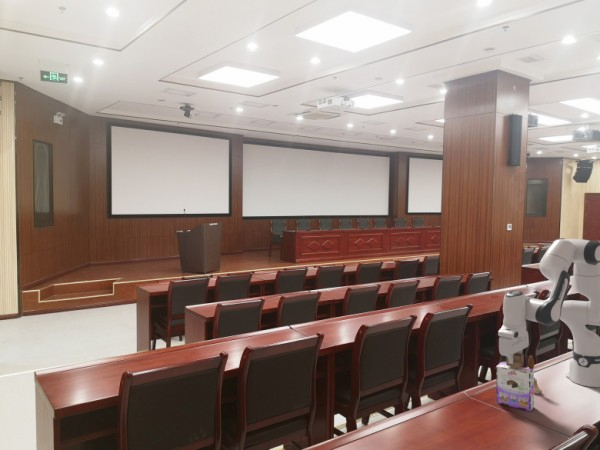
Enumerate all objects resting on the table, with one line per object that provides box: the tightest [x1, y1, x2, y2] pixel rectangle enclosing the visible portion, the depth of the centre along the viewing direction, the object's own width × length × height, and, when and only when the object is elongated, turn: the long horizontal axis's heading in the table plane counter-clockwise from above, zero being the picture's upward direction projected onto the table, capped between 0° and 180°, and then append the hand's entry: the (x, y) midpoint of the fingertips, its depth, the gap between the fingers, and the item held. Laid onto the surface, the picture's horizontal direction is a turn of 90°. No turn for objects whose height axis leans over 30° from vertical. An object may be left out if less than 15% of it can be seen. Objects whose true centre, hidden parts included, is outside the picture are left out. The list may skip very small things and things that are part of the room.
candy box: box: [495, 362, 535, 412], centre depth 186 cm, size 14×6×16 cm, turn 47°
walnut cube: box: [505, 352, 525, 368], centre depth 185 cm, size 5×5×5 cm
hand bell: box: [527, 355, 542, 395], centre depth 201 cm, size 8×8×16 cm
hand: (514, 361), depth 186 cm, fingers closed on walnut cube, 5 cm apart
